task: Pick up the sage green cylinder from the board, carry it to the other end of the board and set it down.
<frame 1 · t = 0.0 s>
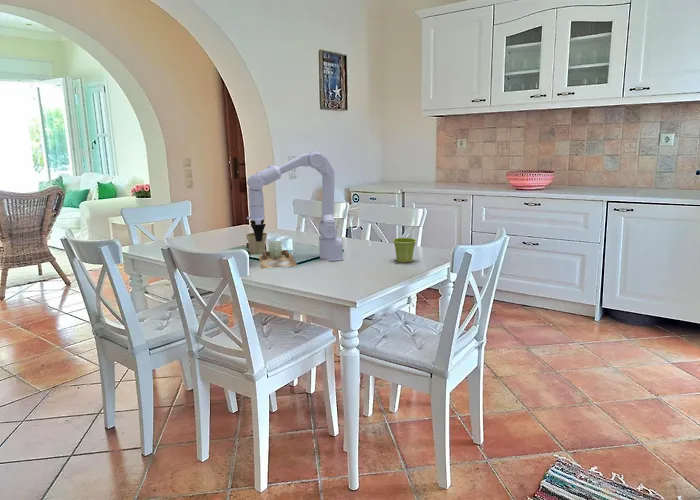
hand: (258, 239, 205), 10 cm above the table, fingers open, 7 cm apart
board: (277, 262, 210), on the table
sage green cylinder: (275, 257, 216), point 1 cm above the table, touching board
flower pot: (257, 254, 226), on the table
plant pot: (404, 261, 208), on the table
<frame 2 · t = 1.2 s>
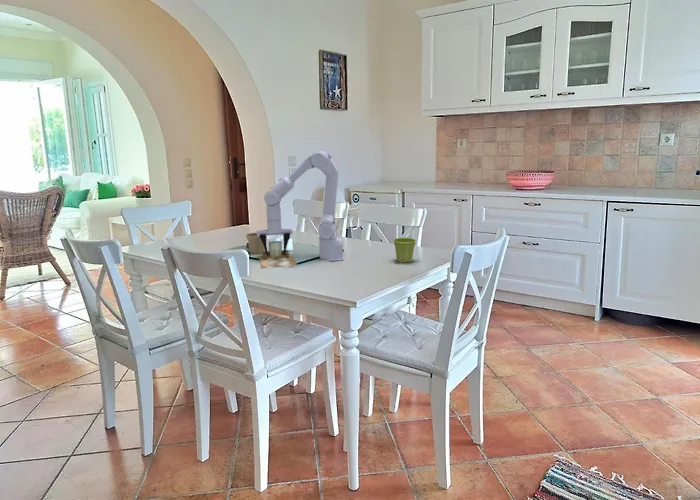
hand: (275, 251, 215), 3 cm above the table, fingers open, 7 cm apart
nothing on the table moved.
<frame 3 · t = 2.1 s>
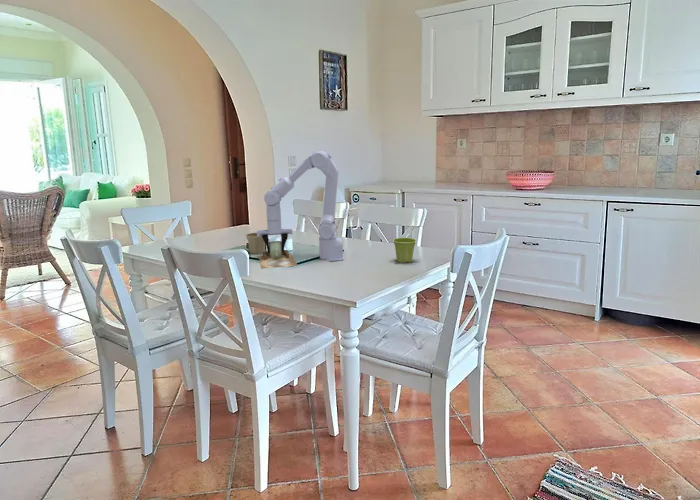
hand: (275, 251, 215), 3 cm above the table, fingers closed on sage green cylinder, 5 cm apart
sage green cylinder: (275, 257, 216), point 1 cm above the table, touching board, gripper
everything else where it was.
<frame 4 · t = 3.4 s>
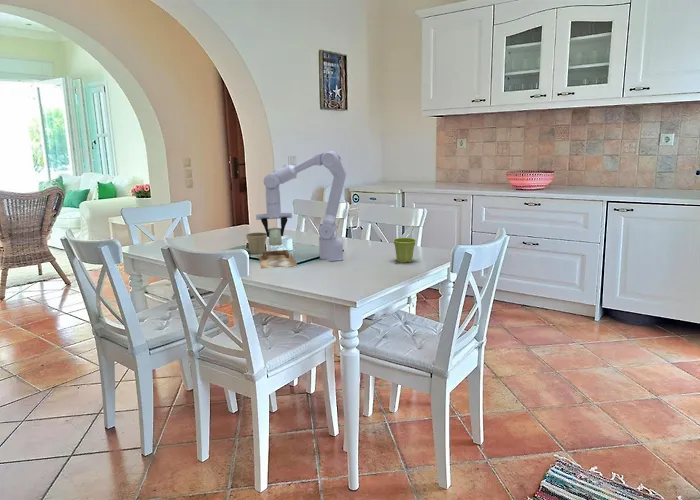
hand: (275, 236, 213), 10 cm above the table, fingers closed on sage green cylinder, 5 cm apart
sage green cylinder: (275, 244, 214), point 6 cm above the table, touching gripper
everything else where it was.
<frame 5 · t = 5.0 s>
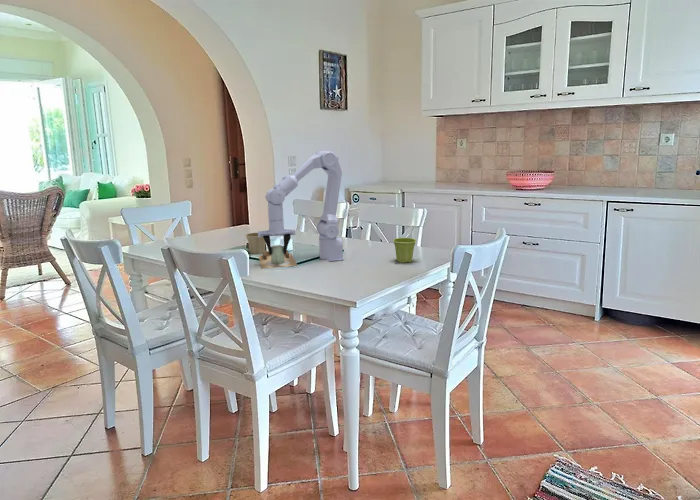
hand: (277, 253, 204), 5 cm above the table, fingers closed on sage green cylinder, 5 cm apart
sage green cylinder: (278, 262, 205), point 1 cm above the table, touching board, gripper
everything else where it was.
when the fingers open (5 cm above the table, at t = 5.9 s): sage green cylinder stays where it is, resting on board.
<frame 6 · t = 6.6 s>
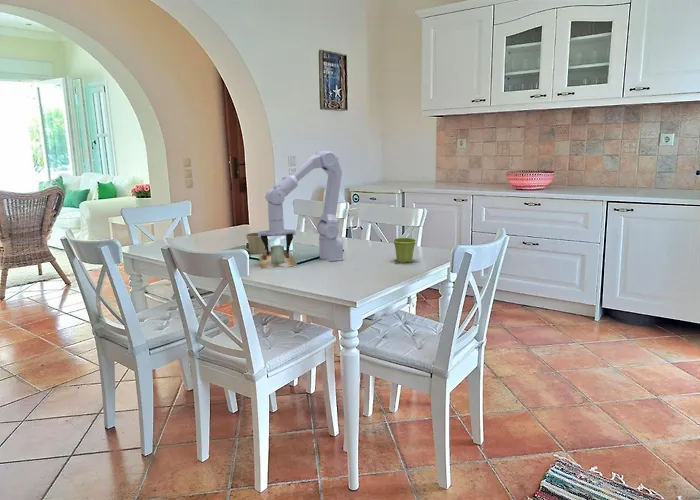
hand: (277, 253, 204), 5 cm above the table, fingers open, 7 cm apart
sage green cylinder: (278, 262, 205), point 1 cm above the table, touching board
everything else where it was.
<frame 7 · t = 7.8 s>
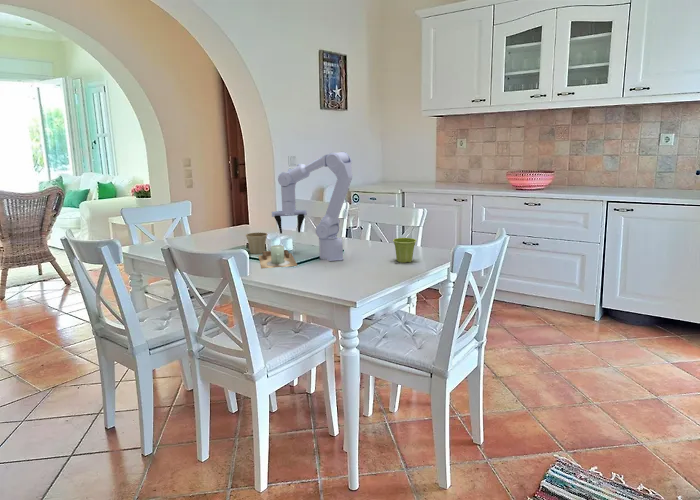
hand: (290, 232, 219), 10 cm above the table, fingers open, 7 cm apart
nothing on the table moved.
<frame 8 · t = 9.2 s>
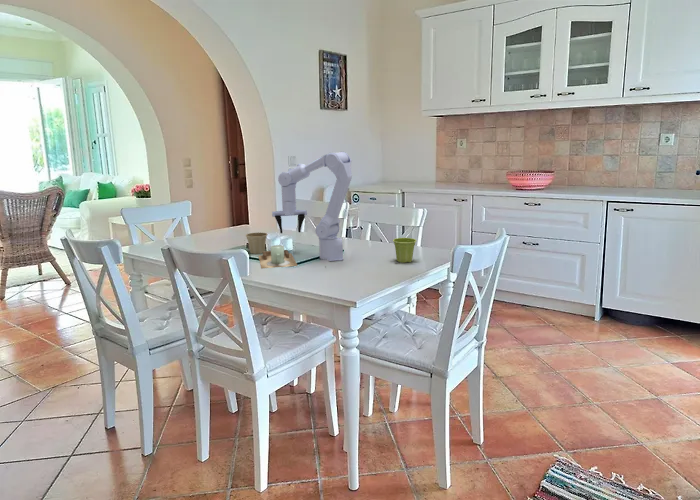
hand: (290, 232, 220), 10 cm above the table, fingers open, 7 cm apart
nothing on the table moved.
at the end: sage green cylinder inside the target area (1.0 cm from its centre), point 1.1 cm above the table; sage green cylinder tilted 0°; the gripper is holding nothing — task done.
